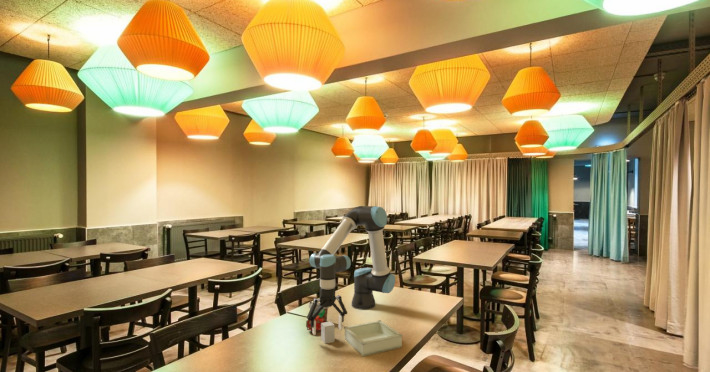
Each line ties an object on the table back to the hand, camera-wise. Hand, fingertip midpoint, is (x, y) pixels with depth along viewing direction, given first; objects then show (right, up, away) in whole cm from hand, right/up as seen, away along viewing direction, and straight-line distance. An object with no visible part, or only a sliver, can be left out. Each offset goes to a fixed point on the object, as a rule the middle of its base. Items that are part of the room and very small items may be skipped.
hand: (327, 331), depth 166 cm
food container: (-8, -5, +24) cm, 26 cm away
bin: (+22, -4, -3) cm, 22 cm away
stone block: (0, -4, 0) cm, 4 cm away
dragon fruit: (-7, -5, +12) cm, 15 cm away
